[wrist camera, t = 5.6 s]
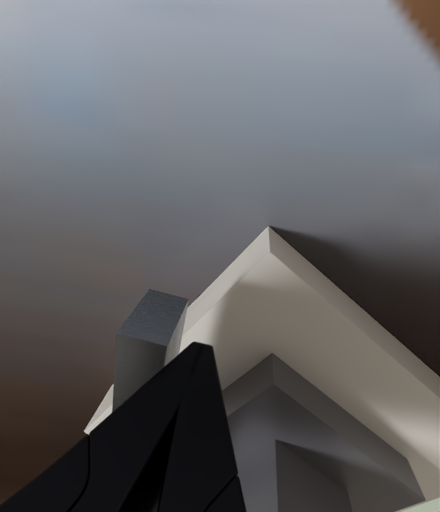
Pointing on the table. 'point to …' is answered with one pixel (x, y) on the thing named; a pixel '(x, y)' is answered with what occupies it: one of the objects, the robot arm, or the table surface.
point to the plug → (309, 449)
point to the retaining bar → (147, 342)
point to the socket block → (317, 349)
